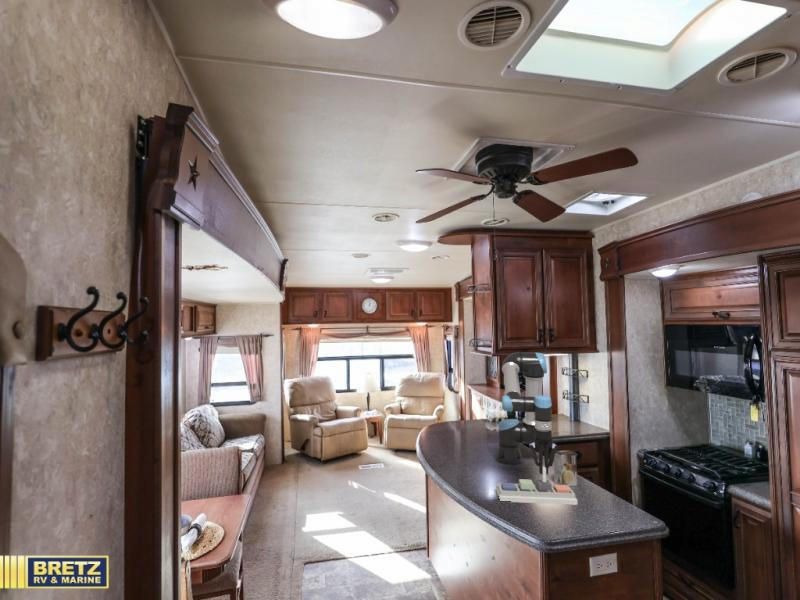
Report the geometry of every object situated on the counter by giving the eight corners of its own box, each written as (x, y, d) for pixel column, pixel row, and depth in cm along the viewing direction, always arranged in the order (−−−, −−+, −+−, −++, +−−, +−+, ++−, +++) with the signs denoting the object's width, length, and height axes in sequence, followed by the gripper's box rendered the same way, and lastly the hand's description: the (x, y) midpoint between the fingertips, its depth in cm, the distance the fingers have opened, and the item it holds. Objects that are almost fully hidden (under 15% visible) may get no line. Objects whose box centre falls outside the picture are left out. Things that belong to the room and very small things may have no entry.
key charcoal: (536, 485, 201) (536, 479, 201) (548, 485, 201) (548, 480, 201) (539, 489, 196) (539, 484, 196) (551, 490, 195) (551, 484, 195)
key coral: (553, 490, 201) (553, 484, 201) (566, 490, 200) (565, 485, 200) (557, 494, 195) (557, 489, 195) (569, 495, 194) (569, 489, 195)
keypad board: (496, 490, 206) (496, 481, 206) (568, 493, 203) (568, 484, 204) (500, 501, 193) (500, 492, 194) (577, 504, 190) (577, 495, 191)
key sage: (519, 484, 202) (518, 479, 202) (531, 485, 202) (531, 479, 202) (521, 489, 196) (521, 483, 197) (533, 489, 196) (533, 484, 196)
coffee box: (569, 481, 219) (568, 449, 220) (577, 485, 213) (577, 453, 214) (553, 483, 217) (553, 450, 217) (561, 487, 210) (561, 454, 211)
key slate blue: (501, 488, 203) (501, 482, 203) (513, 488, 202) (513, 483, 202) (503, 492, 197) (503, 487, 197) (516, 493, 196) (516, 487, 197)
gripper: (530, 431, 197) (531, 483, 195) (559, 431, 195) (560, 484, 194) (527, 427, 204) (527, 477, 203) (555, 428, 203) (556, 478, 201)
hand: (543, 481), depth 198 cm, fingers closed
